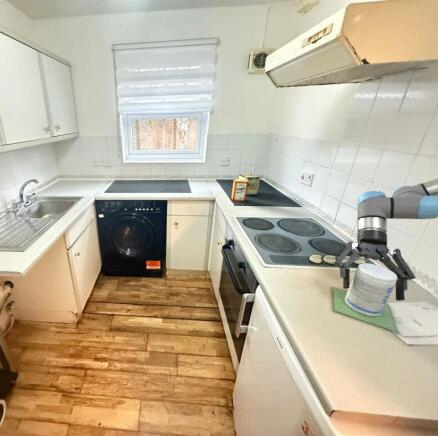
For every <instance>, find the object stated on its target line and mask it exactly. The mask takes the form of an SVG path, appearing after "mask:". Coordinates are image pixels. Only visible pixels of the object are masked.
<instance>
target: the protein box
mask: <svg viewBox="0 0 438 436" xmlns="http://www.w3.org/2000/svg"><path fill="white" fill-rule="evenodd" d="M260 178H261V177H260V176H257V175H255V174H253V173H239V176H238V179H241V180H247V181H248V188H247V194H246V197H247V196H250V197H251V196H258V195H257V194H258V190H259V186H260Z"/></svg>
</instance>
